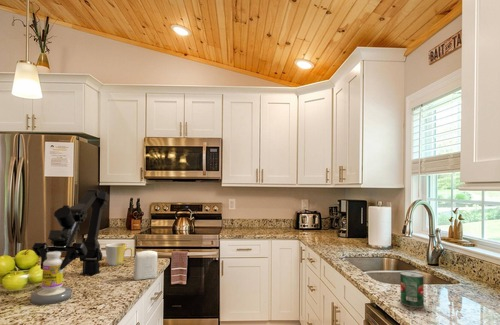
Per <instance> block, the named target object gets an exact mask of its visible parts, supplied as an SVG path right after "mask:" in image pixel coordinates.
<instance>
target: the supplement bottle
mask: <svg viewBox="0 0 500 325" xmlns="http://www.w3.org/2000/svg"><path fill="white" fill-rule="evenodd" d="M61 256H62V252H59V251H50V252H48V253H47V260H45V261H44V262H43V270H42V273H41V274H42V275H41V276H42V277H41V289H44V290H54V289H58V288H60V287H61V286H63V284H64V283H63V281H64V268H63V269H62V270H61V269H60V267H61V264H62V262H63V260H64V258H61Z"/></svg>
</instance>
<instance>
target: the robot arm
mask: <svg viewBox="0 0 500 325" xmlns="http://www.w3.org/2000/svg"><path fill="white" fill-rule="evenodd" d="M85 192H86V193H85V194H84V195H83V197H81V198H80V200H79V201H78V203H77V204H75V205H72V206H70V205H67V204H65V205H64V204H63V206H62V207H60V208H58V209H57V210H55V211H54V213H53V216H54V218H55V220H56V221H57V223H58V225H59V226H60V227H61V229H59V230H58V229H55V230H54V229H53V230H50V231H49V233H48V237H47V240H50V243H51V245H48V244H47V242H38V241H37V242H34V244H33V245H32V246H31V249H32V251H33V252H34V253H35V255H36V256H38V257H41V258H40V270H41V271H43V262H44V261H45V260H47V253H48V252H55V251H59V252H61V253H63V252H64V253H66V254H65V255H64V258H63V262H62V264H61V267H60V269H61V270H62V269H63V270H64V269H65V268H66V266H68V265H69V264H70V263H72V262H73V261H74V260H76V259H78V258H79V262H82V272H81V273H79V275H80V276H91V277H92V276H95V275H97V274H99V273H101V271H100V262H101V261H103V253H102V250H101V245H100V242H99V241H98V239H99V238H98V237H99V234H100V233H99V232H100V228H101V223H102V222H101V220H102V214H103V211H104V210H105V208H106V207H107V206H108V202H109V200H110V194H108V192H106V191H101V190H99V189H93V188H91V189H90V188H89V189H87V190H86V191H85ZM90 207H91V215H90V218H89V224H88V228H87V234H86V239H85V240H83V241H82V242H75V241H76V240H75V237H76V235H77V232H80V224H79V223H84V222H85V220H86V219H87V217H88V210H90Z"/></svg>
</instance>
